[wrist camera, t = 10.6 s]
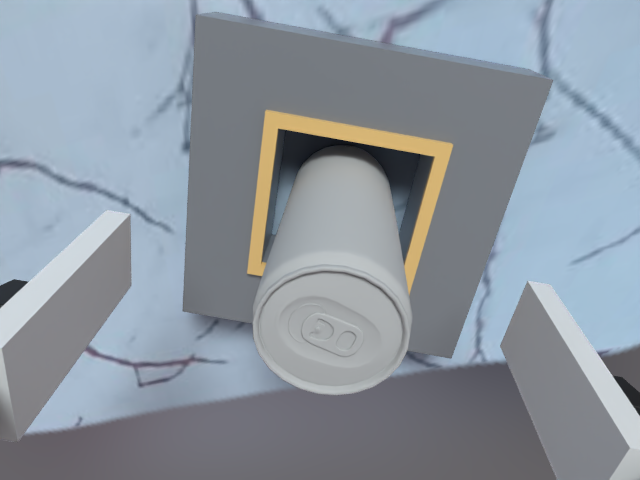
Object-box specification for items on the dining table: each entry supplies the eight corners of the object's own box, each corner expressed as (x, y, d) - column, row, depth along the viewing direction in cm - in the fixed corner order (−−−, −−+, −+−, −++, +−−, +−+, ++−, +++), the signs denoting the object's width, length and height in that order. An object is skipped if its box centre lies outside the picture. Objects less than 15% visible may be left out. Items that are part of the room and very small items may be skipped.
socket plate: (199, 280, 28) (180, 314, 25) (216, 12, 22) (193, 15, 19) (442, 323, 28) (452, 362, 25) (529, 69, 22) (555, 81, 19)
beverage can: (318, 124, 24) (285, 234, 13) (408, 167, 24) (448, 306, 13) (280, 208, 26) (223, 363, 15) (363, 245, 26) (367, 419, 16)
